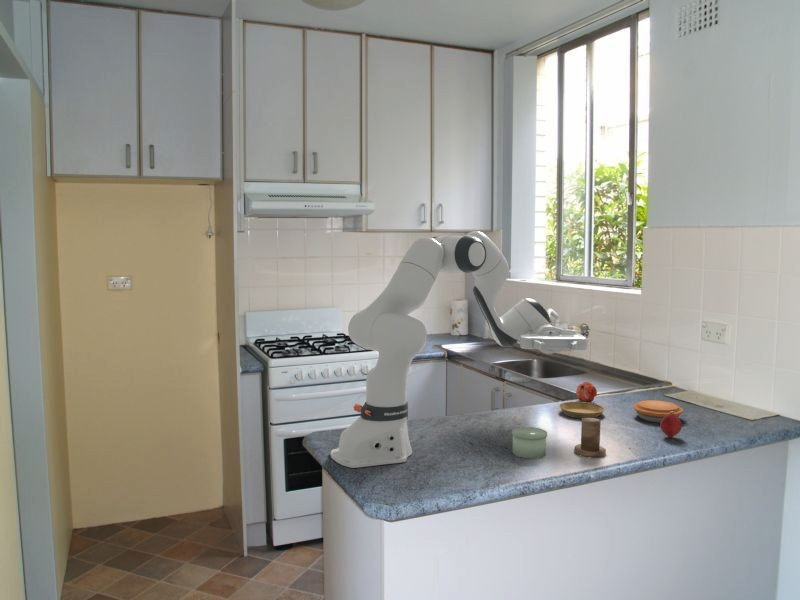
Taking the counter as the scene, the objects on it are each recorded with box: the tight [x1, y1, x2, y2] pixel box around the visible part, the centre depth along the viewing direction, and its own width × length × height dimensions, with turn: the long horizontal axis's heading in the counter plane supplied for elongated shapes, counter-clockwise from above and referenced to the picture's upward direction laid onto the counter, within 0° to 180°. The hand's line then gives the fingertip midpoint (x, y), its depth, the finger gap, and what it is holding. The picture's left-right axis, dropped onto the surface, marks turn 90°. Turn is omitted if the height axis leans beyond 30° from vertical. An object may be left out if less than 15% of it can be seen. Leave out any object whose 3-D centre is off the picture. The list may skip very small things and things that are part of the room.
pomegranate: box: [575, 381, 598, 403], centre depth 242 cm, size 7×7×10 cm
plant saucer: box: [558, 401, 606, 419], centre depth 226 cm, size 15×15×3 cm
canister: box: [511, 426, 548, 460], centre depth 186 cm, size 10×10×6 cm
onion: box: [659, 411, 683, 439], centre depth 200 cm, size 6×6×8 cm
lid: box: [573, 418, 607, 459], centre depth 186 cm, size 8×8×9 cm
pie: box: [632, 399, 684, 424], centre depth 221 cm, size 16×16×5 cm
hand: (558, 346), depth 199 cm, fingers open, 8 cm apart
